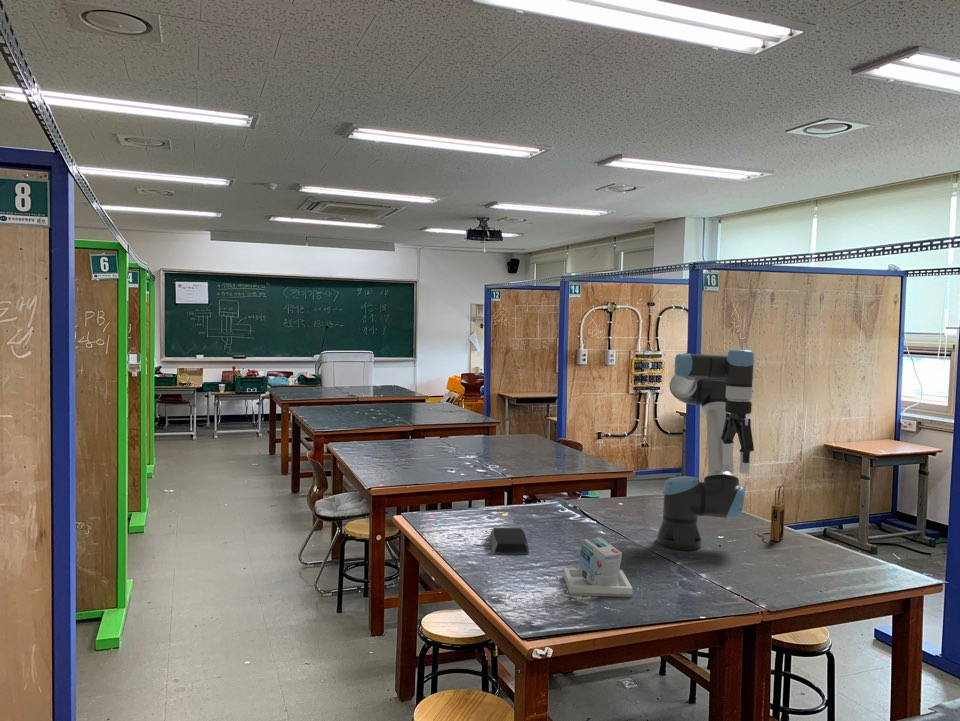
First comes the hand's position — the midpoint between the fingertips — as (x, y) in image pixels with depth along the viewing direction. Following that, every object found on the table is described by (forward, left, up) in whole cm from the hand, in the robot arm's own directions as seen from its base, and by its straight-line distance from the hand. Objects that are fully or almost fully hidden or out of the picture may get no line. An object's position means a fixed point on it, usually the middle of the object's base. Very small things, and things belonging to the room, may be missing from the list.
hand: (735, 468), depth 205 cm
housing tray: (+14, -44, -33) cm, 57 cm away
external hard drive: (-21, -68, -33) cm, 79 cm away
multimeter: (-38, +27, -33) cm, 57 cm away
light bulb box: (+14, -44, -31) cm, 56 cm away
